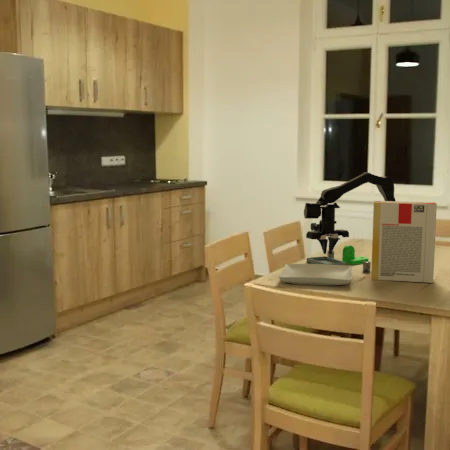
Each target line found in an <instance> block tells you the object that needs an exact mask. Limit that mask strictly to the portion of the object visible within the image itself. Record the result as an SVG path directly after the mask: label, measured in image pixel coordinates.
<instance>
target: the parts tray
mask: <svg viewBox="0 0 450 450" xmlns="http://www.w3.org/2000/svg"><path fill="white" fill-rule="evenodd" d="M306 263H307V264H328V265H344V266H347V264H346V262H343V261H342V260H339V259H336V258H334V259H333V258H330V257H327V255H324V256H311V257H306Z"/></svg>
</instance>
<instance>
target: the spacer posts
mask: <svg viewBox="0 0 450 450" xmlns="http://www.w3.org/2000/svg"><path fill="white" fill-rule="evenodd" d="M326 254H327V255H326V256H327V257H330V258H333V259H335V251H334V250H333V251H332V253H331V254H329V250H327V251H326ZM348 254H349V251H348ZM371 265H372V261H368V262H367V261H365V262H363V263H362V272H363V273H371Z"/></svg>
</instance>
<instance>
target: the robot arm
mask: <svg viewBox="0 0 450 450" xmlns="http://www.w3.org/2000/svg"><path fill="white" fill-rule="evenodd" d="M367 183H369V184H371V185H375V186H376V188H377V190H378V192H379V193H380V195H381V197H382V198H383V199H384V200H383V201H396V198H395V184H394V180H393V178H392V177H389V176H379V175H375V174H374V173H373V174H372V173H371V172H362V173H361V174H359V175H358V176H356V177H353V178H352V179H350V180H347V181H346V182H344V183H341V184H340V185H336V186H333V187H330V188H326V189H323V190H322V191H321V194H320V197H319V198H318V200H317V201H316V202H313V203H312V202H311V203H310V202H305V203H304V204H305V205H304V209H303V216H304V219H308V220H309V219H317V220H318V219H319V218H320V217H321V219H319V222H318V223H316V222H312V223H310V230H311V231H307V233H306V234H305V237H306V239H311V240H317V242H319V244H320V247H321V249H322V253H323V255H326V254H327V251H329V254H331V253H332V251H334V248H335V247H336V245H337V244H338V242H339V240H341V238H340V237H341V236H342V238H350V233H349V230H347V229H336V227H335V224H337V221H336V209H341V207H340V205H339V204H338V203H337V202H336V201H338V200H339V199H340V198H342V197H343V195H345V194H346V193H350V192H351V191H353V190H355V189H357V188H358V187H360V186H362V185H364V184H367ZM339 236H340V237H339ZM327 248H328V249H327Z"/></svg>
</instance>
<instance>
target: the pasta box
mask: <svg viewBox="0 0 450 450" xmlns="http://www.w3.org/2000/svg"><path fill="white" fill-rule="evenodd" d="M437 206H438V204H437V203H436V202H434V201H427V202H426V201H396V200H395V201H385V200H374V201H373V211H372V213H373V216H372V217H373V218H372V240H371V241H372V242H371V243H372V245H371V247H372V249H371V269H370V274H371V276H370V278H371V279H370V280H379V281H394V282H397V281H398V282H410V283H411V282H413V283H415V282H416V283H429V284H430V283H431V284H432V283H434V271H435V270H434V269H435V252H436V251H435V250H436V227H437V225H436V224H437Z"/></svg>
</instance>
